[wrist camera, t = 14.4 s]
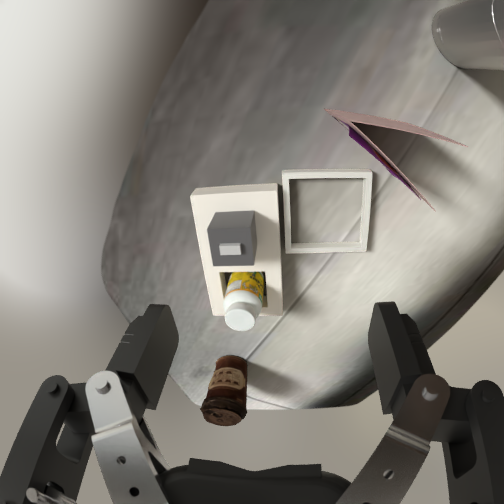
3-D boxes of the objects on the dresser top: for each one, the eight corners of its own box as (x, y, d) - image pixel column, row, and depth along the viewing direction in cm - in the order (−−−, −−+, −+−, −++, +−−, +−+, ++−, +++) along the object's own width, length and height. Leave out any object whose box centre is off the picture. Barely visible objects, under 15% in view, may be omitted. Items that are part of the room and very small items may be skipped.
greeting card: (319, 113, 34) (342, 128, 21) (356, 72, 31) (399, 65, 18) (383, 172, 37) (429, 218, 24) (417, 134, 34) (479, 163, 21)
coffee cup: (206, 350, 57) (191, 405, 46) (247, 348, 56) (239, 406, 45) (217, 376, 61) (206, 428, 50) (256, 375, 60) (250, 429, 49)
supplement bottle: (223, 272, 47) (211, 313, 39) (253, 258, 46) (245, 298, 37) (242, 296, 49) (234, 339, 41) (271, 284, 48) (267, 327, 39)
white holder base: (277, 183, 39) (276, 207, 32) (282, 303, 49) (281, 341, 42) (196, 188, 41) (176, 212, 33) (216, 303, 51) (206, 340, 43)
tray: (369, 169, 37) (372, 172, 36) (363, 246, 43) (366, 251, 42) (282, 169, 38) (282, 173, 37) (285, 248, 44) (285, 253, 43)
